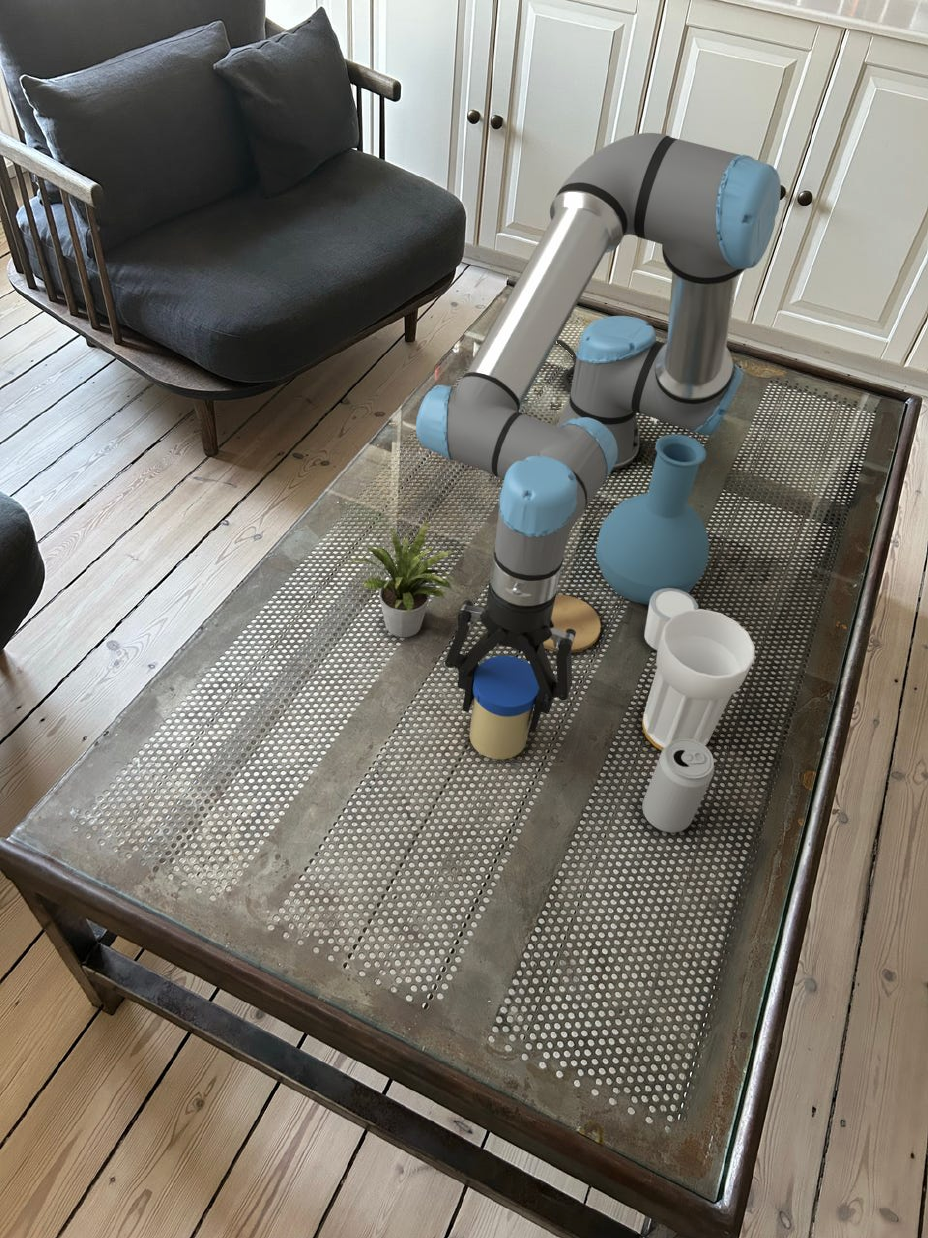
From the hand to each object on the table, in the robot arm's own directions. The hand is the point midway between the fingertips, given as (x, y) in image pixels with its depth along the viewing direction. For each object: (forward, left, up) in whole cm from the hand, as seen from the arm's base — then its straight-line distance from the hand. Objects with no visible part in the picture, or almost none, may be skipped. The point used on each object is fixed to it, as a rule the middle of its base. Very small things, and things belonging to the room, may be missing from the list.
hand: (501, 713), depth 125 cm
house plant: (-22, -6, -5) cm, 23 cm away
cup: (+7, +23, -5) cm, 25 cm away
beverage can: (+18, +15, -5) cm, 24 cm away
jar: (0, 0, -5) cm, 5 cm away
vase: (-19, +33, -5) cm, 39 cm away
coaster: (-15, +17, -5) cm, 23 cm away
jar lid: (0, 0, +6) cm, 6 cm away
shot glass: (-8, +30, -5) cm, 32 cm away
